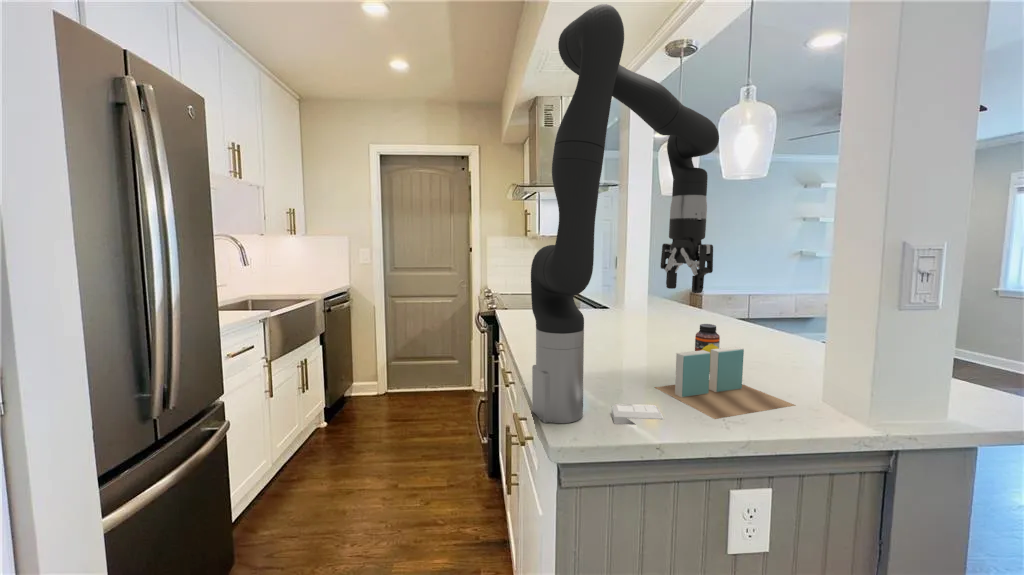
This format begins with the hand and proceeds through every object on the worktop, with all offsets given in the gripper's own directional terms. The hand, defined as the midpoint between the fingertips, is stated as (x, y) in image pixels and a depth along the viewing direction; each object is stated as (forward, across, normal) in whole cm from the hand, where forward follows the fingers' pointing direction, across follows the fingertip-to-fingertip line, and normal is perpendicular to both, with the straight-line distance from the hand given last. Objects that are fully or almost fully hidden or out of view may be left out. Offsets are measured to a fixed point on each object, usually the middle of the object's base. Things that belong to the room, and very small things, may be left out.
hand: (683, 290), depth 98 cm
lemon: (+22, -6, +14) cm, 27 cm away
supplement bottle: (+22, -12, +18) cm, 31 cm away
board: (+22, +10, +3) cm, 25 cm away
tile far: (+21, +6, +7) cm, 23 cm away
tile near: (+22, +7, -2) cm, 23 cm away
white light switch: (+24, +12, -19) cm, 32 cm away
